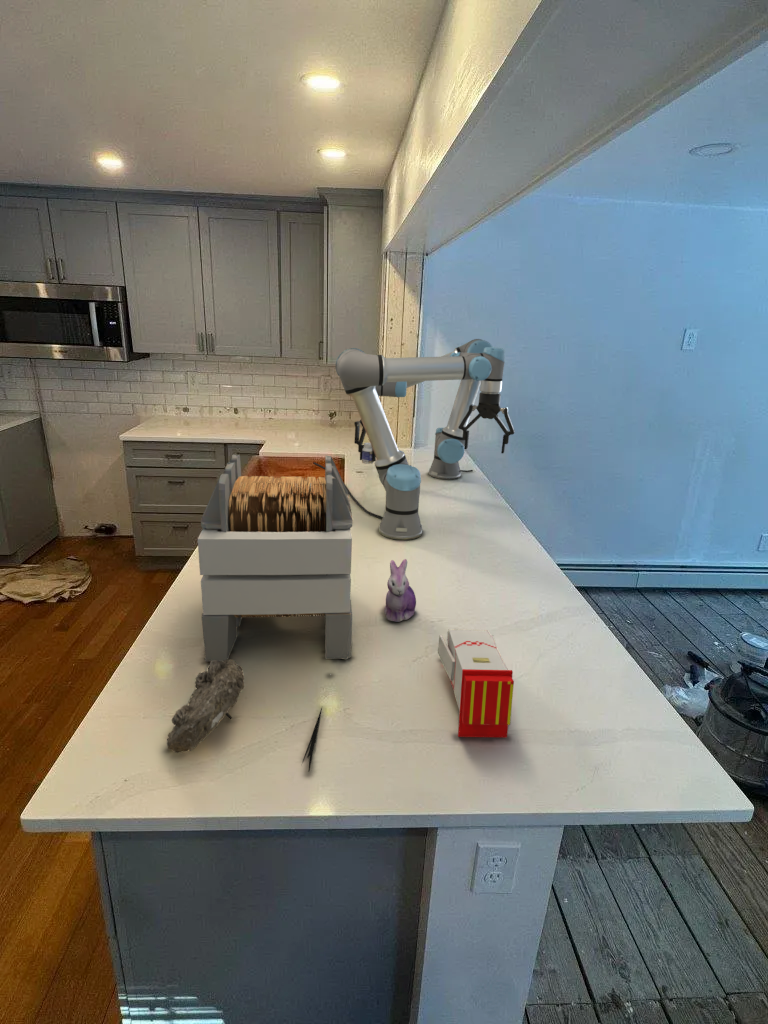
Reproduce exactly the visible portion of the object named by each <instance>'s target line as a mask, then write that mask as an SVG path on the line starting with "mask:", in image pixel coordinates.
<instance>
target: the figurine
mask: <svg viewBox="0 0 768 1024" xmlns="http://www.w3.org/2000/svg"><path fill="white" fill-rule="evenodd" d="M407 567H408V559H406V558H404V559H403V560H402V561H401V563H400V565H399V566H398V565H397V563H396V562H395V561H394V560H393V559H391V560H390V561H389V570H390V576H389V578H388V579H387V589H388V591H387V592H386V594H385V595H386V596H385V607H384V615H385V616H386V620H387V621H391V622H395V623H400V622H402V621H406V620H409V619H410V618H411V617H413V616H414V615H415V610H416V606H417V597H416V593H415V591H414V590H413V587H411V586H410V582H409V579H408V577H407V574H406V571H407Z"/></svg>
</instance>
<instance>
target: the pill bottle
mask: <svg viewBox="0 0 768 1024" xmlns="http://www.w3.org/2000/svg"><path fill="white" fill-rule="evenodd" d="M363 445H364V448H363V449H362V460H361V463H362V464H365V465H372V464H374V462H372V451H373V448H372V446H371V443H370V442H363Z"/></svg>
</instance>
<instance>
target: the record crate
mask: <svg viewBox="0 0 768 1024" xmlns="http://www.w3.org/2000/svg"><path fill="white" fill-rule="evenodd" d="M324 457H325V458H324V459H325V461H324V462H325V463H324V464H325V465H324V467H325V469H324V476H318V477H316V476H307V477H303V476H288V475H287V476H280V477H279V476H274V475H270V476H268V475H259V476H258V475H255V476H254V475H250V476H247V475H242V466H241V456H240V454H231V457H230V459H229V462H227V463H226V466H225V467H224V470H223V472H222V474H220V476H219V478H218V480H217V482H216V484H215V487H214V488H213V491H212V493H211V496H210V498H209V500H208V502H207V505H206V507H205V509H204V511H203V513H202V516H201V518H200V527H201V532H200V533H199V535H198V537H197V550H198V565H199V576H202V577H201V579H200V590H201V591H200V592H201V606H202V607H201V608H202V613H201V626H202V627H201V629H202V640H203V646H204V658H203V660H204V662H208V663H210V662H211V661H212V660H217V661H222V662H223V661H224V660H227V659H228V660H229V658H230V655H231V653H232V650H233V648H234V645H235V643H236V640H237V638H238V628H240V625H241V621H242V619H243V618H282V617H283V618H289V617H290V618H293V617H297V618H298V617H314V616H315V617H320V616H321V617H324V653H325V654H324V655H325V660H338V659H339V660H348V659H350V658H352V644H353V643H352V641H353V639H352V638H353V610H352V600H351V588H352V587H351V586H352V582H351V581H352V577H351V574H352V553H353V552H352V548H353V547H352V546H353V537H352V530H351V528H352V527H353V523H354V520H353V513H352V506H351V501H350V500H351V499H350V495H349V494H348V492H347V489H346V487H347V486H346V487H345V485H346V484H345V482H344V481H343V478H342V477H341V474H340V472H339V470H338V468H337V466H336V463H335V461H334V460H333V457H332V455H328V454H327V455H326V454H325V456H324ZM344 484H345V485H344Z"/></svg>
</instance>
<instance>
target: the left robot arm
mask: <svg viewBox="0 0 768 1024" xmlns="http://www.w3.org/2000/svg"><path fill="white" fill-rule="evenodd" d="M505 364H506V351H505V348H502V347H495V346H493V347H486V348H484V351H483V353H464V352H454V353H452V354H451V355H450V357H441V356H414V357H385V356H384V355H383V354H371V353H366V352H364V351H363V350H362V349H359V348H356V347H353V348H348V349H345V350H343V351H342V352H341V353H340V354H339V355H338V357H337V358H336V361H335V372H336V374H337V376H338V377H339V379H340V382H341V385H342V387H343V390H344V392H345V394H346V395H347V396H349V397H351V398H352V400H353V403H354V406H355V408H356V410H357V413H358V415H359V418H360V420H362V423H363V425H364V428H365V431H366V435H367V438H368V440H369V443H371V446H372V448H373V451H374V453H375V456H376V461H374V462H373V465H374V467H375V469H376V472H377V474H378V479H379V481H380V483H381V485H382V486H383V489H384V491H385V504H384V505H385V507H384V508H385V509H384V513H383V515H380V514H376V513H373V512H371V511H369V510H367V509H366V508H365V507H364V505H362V504H361V503H360V502H359V501H358V500H357V499H356V498H355V496H354V495H353V494H352V493H351V491H350V490H349V488H348V486H347V485H346V484H345V483H344V485H345V487H346V489H347V492H348V494H349V497H350V498H351V499H352V500H353V502H355V504H356V505H357V506H358V507H359V508H360V509H361V510H362V511H364V512H365V513H366V514H367V515H369V516H372V517H374V518H378V519H381V522H379V526H378V533H379V534H380V535H381V536H382V537H385V538H387V539H389V540H395V541H410V540H415V539H418V538H420V537H421V536H422V535H423V525H422V524H421V518H420V515H419V507H420V506H419V505H420V494H421V493H420V492H421V483H422V478H421V476H422V475H421V471H420V470H419V468H417V467H416V466H413V465H412V464H411V465H410V464H409V461H408V459H407V457H406V454H405V452H404V451H403V450H400V449H399V447H398V445H397V442H396V440H395V436H394V434H393V431H392V429H391V426H390V423H389V421H388V418H387V416H386V413H385V410H384V407H383V404H382V402H381V400H380V396H379V397H378V394H377V391H376V389H375V387H376V386H382V385H384V384H385V383H386V382H406V381H424V382H431V381H434V382H435V381H458V380H459V381H461V380H471V379H473V380H475V381H481V384H480V388H479V391H480V392H479V393H478V394H479V397H478V403H477V405H476V404H474V405H473V404H471V405H470V406H469V411H468V412H467V414H466V416H465V417H464V419H463V420H462V422H461V424H460V425H459V427H458V428H459V429H461V430H463V440H465V446H464V450H467V449H468V447H469V438H470V430H469V429H470V428H471V427H472V426H473V425H474V424H475V423H476V422H477V421H478V420H479V419H480V418H482V419H488V420H493V419H494V421H495V422H496V423H497V425H498V426H499V428H500V429H501V430H502V432H503V433H504V434H503V436H502V443H501V453H500V454H505V448H506V445H508V444H509V441H510V436H512V435H514V434H516V431H515V428H514V425H513V422H512V419H511V417H510V414H509V407H508V406H506V407H501V392H502V390H503V389H502V387H503V377H504V369H505ZM475 410H476V411H477V412H478V414H477V415H476V416H475V417H473V419H472V420H470V421H469V422H468V425H467V426H466V427H464V424H465V423H466V421H467V419H468V418H469V416H470V415H471V416H472V413H473V412H474V411H475ZM500 412H501V413H502V414H503V416H504V418H505V422H506V424H507V426H506V425H505V423H504V422H503V420H502V419H501V417H500V416H499V413H500ZM471 416H470V417H471ZM507 427H508V428H507ZM313 465H315V466H317V467H319V468H321V469H322V470H325V466H323V465H321V464H320V463H317V462H315V461H314V462H313Z"/></svg>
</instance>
